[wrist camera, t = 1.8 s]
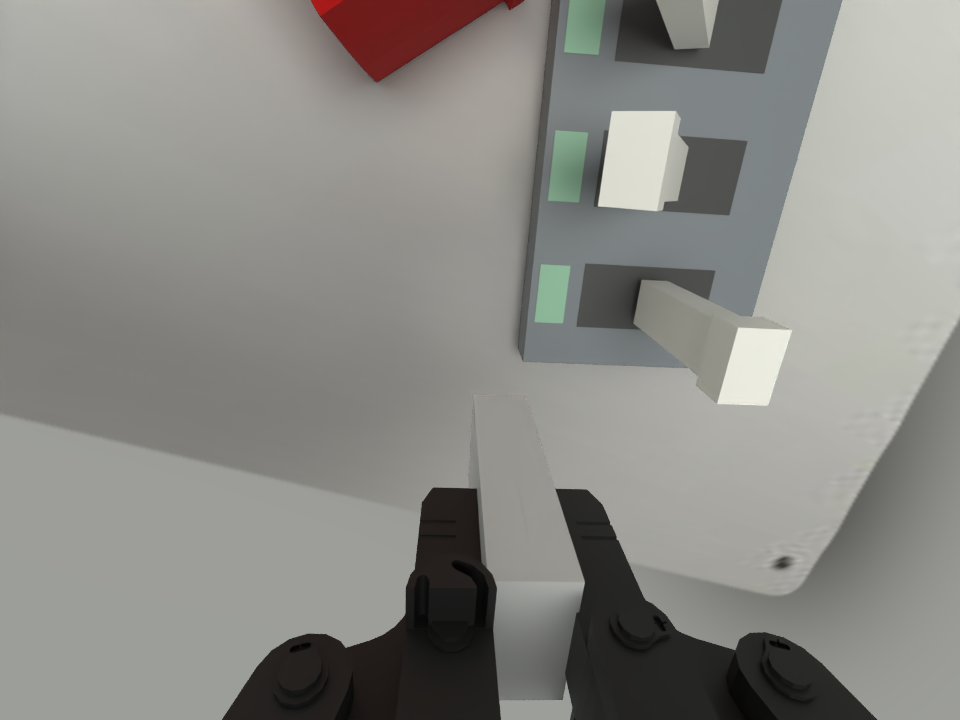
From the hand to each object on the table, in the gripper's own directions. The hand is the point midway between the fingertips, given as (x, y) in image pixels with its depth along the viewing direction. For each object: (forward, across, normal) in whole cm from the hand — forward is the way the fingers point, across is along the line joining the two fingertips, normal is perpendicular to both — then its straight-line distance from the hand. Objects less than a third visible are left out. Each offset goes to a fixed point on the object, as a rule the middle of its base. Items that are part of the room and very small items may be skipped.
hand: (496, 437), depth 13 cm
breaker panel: (+22, +12, +8) cm, 26 cm away
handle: (+19, +12, +8) cm, 24 cm away
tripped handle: (+19, +12, 0) cm, 22 cm away
